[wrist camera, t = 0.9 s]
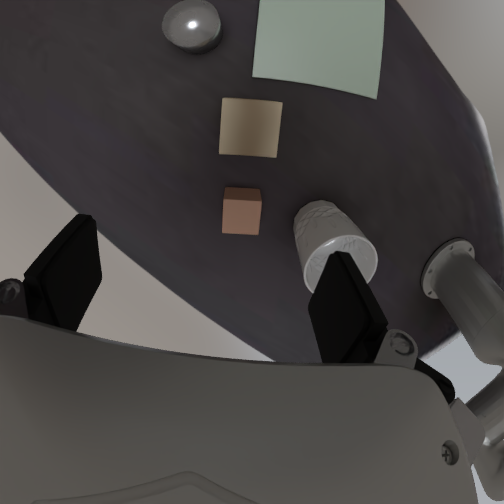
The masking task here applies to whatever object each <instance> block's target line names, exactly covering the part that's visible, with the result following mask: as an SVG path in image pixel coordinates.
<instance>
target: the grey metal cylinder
mask: <svg viewBox="0 0 504 504" xmlns="http://www.w3.org/2000/svg"><path fill="white" fill-rule="evenodd" d="M162 30H163V33H164V35H165V37H166V38H167V39H168V40H169V41H171V42H172V43H174V44H175V45H176V46H178V47H179V48H181V49H182V50H183V51H185V52H187V53H190V54H196V55H198V54H204V53H207V52H210V51H211V50H213V49H214V48H216V47H217V46H218V44H219V43H220V41H221V39H222V36H223V29H222V26H221V22H220V19H219V15H218V12H217V10H216V9H215V7H214V6H213V5H212V4H210V3H209V2H207V1H204V0H184V1H181V2H179V3H177V4H175V5H174V6H173V7H171V8H170V9H169V10H168V11H167V13H166V14H165V16H164V18H163V22H162Z"/></svg>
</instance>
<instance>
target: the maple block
mask: <svg viewBox="0 0 504 504" xmlns="http://www.w3.org/2000/svg"><path fill="white" fill-rule="evenodd" d="M281 112H282V103H281V102H276V101H268V100H258V99H245V98H227V97H226V98H222V112H221V127H220V144H219V154H231V155H248V156H261V157H273V158H276V156H277V147H278V139H279V130H280V121H281Z"/></svg>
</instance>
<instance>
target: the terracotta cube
mask: <svg viewBox="0 0 504 504" xmlns="http://www.w3.org/2000/svg"><path fill="white" fill-rule="evenodd" d="M261 205H262V199H261V194H260V189H253V188H236V187H225V193H224V200H223V223H222V233H233V234H252V235H258V233H259V224H260V214H261Z"/></svg>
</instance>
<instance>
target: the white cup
mask: <svg viewBox="0 0 504 504" xmlns="http://www.w3.org/2000/svg"><path fill="white" fill-rule="evenodd" d="M293 231H294V235H295V241H296V246H297V251H298V256H299V260H300V264H301V268H302V272H303V277H304V281H305V284H306V286H307V288H308V289H309V290H310V291H311V292H312V293H314V290H315V288H316V286H317V283H318V281H319V279H320V276H321V274H322V271H323V269H324V266H325V264H326V262H327V259H328V257H329V255H330V254H331V253H332V254H333V253H334V252H335V251H342V252H348V253H350V254H351V256H352V258H353V260H354V261H355V263H356V265H357V266H358V268H359V270H360V272H361V273H362V275H363V277H364V279H365V280H366V282H367V284H368V282H369V281H370V280H371V278H372V277H373V275H374V273H375V271H376V268H377V263H378V257H377V252H376V249H375V248H374V246H373V245H372V243H371V242H370V241H369V240H368V239H367V237H366V236H365V235H364V234H363V233H362V232H361V230H360V229H359V228H358V227H357V226H356V225H355V224H354V223H353V222H352V220H351V219H350V218H349V217H348V216H347V215H346V214H345V213H343V212H342V211H341V210H340V209H339V208H338V207H337V206H336V205H335V204H334V203H332V202H328V201H324V200H319V201H313V202H310V203H308V204H307V205H305V206H304V207H302V208H301V209H300V210H299V212H298V213H297V215H296V217H295V218H294V226H293Z"/></svg>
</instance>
